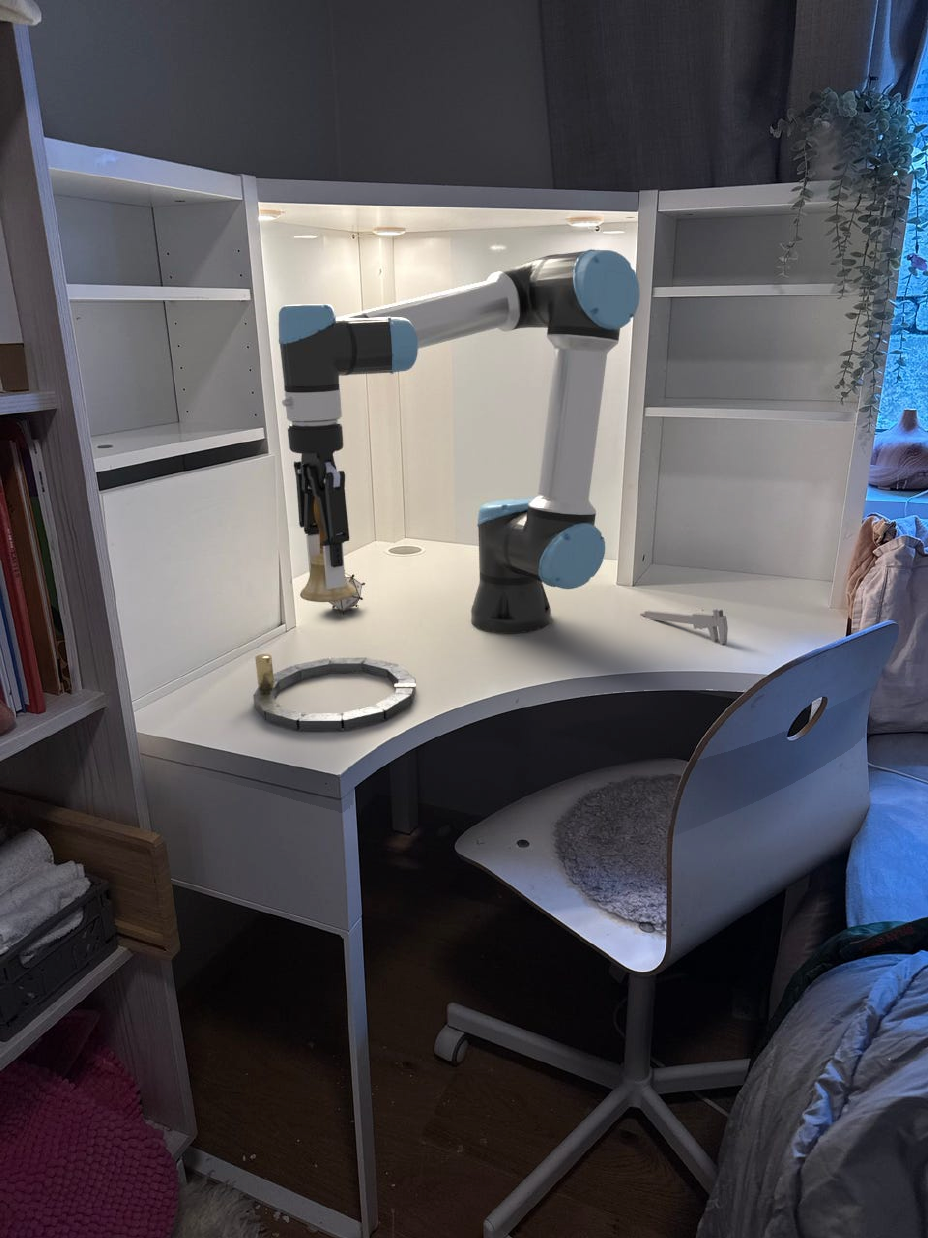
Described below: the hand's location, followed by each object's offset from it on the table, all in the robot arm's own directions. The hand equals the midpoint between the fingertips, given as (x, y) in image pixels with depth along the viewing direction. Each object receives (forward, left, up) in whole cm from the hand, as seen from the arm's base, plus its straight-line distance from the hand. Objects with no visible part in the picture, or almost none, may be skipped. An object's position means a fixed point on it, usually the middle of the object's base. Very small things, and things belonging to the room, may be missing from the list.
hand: (327, 581), depth 131 cm
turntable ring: (0, 0, -19) cm, 19 cm away
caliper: (-65, +7, -19) cm, 68 cm away
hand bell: (0, 0, -2) cm, 2 cm away
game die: (-18, -39, -19) cm, 47 cm away
